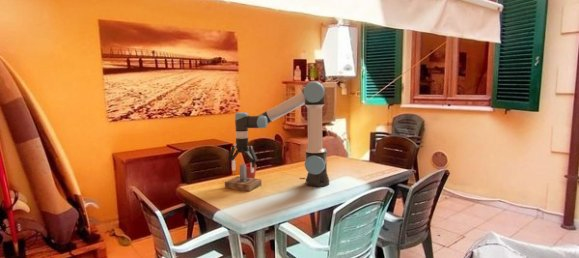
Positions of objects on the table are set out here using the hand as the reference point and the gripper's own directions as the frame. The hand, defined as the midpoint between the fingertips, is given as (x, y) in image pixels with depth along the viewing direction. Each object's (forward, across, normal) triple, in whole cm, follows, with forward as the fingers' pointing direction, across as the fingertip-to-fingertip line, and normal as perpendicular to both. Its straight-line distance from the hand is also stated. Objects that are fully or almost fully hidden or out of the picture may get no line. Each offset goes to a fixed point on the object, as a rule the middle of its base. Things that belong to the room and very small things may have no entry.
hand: (242, 171), depth 214 cm
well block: (+10, 0, 0) cm, 10 cm away
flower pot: (+10, +6, -16) cm, 20 cm away
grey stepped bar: (+10, 0, 0) cm, 10 cm away
